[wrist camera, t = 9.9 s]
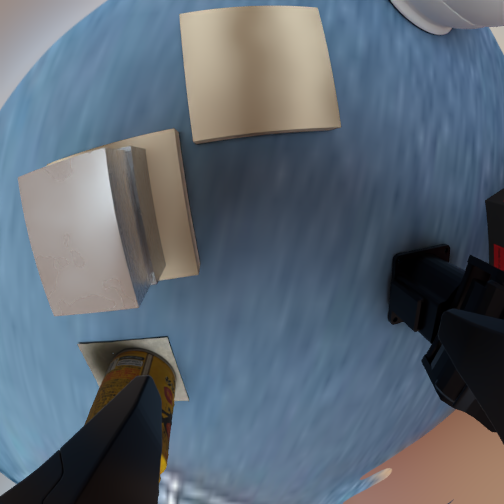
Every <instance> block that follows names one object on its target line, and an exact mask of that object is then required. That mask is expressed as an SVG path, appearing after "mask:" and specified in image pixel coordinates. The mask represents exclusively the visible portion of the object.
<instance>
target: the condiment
mask: <svg viewBox="0 0 504 504" xmlns="http://www.w3.org/2000/svg"><path fill="white" fill-rule="evenodd" d="M77 345H78V347H79V349H80V351H81V352H82V353H83V356H84V358H85V360H86V362H87V364H88V366H89V367H90V369H91V371H92V373H93V375H94V377H95V379H96V380H97V383H98V385H99V387H100V388H99V390H98V393H97V395H96V397H95V400H94V402H93V405H92V407H91V409H90V412H89V415H88V417H87V420H86V422H85V425H86V424H87V423H88V422H89V421H90V420H91V419H92V418H93V417H94V416H95V415H96V414H97V413H98V412H99V411H100V410H101V409H102V408H103V407H104V406H106V405H107V404H108V403H109V402H110V401H111V400H112V399H113V398H114V397H115V396H116V395H117V394H118V393H119V392H120V391H121V390H122V389H123V388H124V387H125V386H126V385H128V384H129V383H130V382H131V381H132V380H133V379H134V378H135V377H136V376H142V375H149V376H151V377H152V378H153V380H154V383H155V385H156V387H157V389H158V392H159V394H160V396H161V401H162V455H161V465H160V474H161V473H163V472H164V470H165V469H166V466H167V459H168V455H169V454H168V449H169V438H170V430H171V425H172V421H171V420H172V414H173V407H174V401H189V398H188V396H187V393H186V390H185V387H184V384H183V381H182V379H181V376H180V373H179V370H178V367H177V364H176V361H175V358H174V356H173V354H172V350H171V347H170V344H169V341H168V338H167V337H166V338H154V339H142V340H129V341H116V342H111V343H107V342H104V343H90V344H77ZM113 353H114V354H113ZM160 480H161V477H159V482H160ZM158 496H159V490H158Z"/></svg>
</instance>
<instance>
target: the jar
mask: <svg viewBox="0 0 504 504" xmlns="http://www.w3.org/2000/svg"><path fill="white" fill-rule="evenodd" d="M390 1H391V2H392V3H393V5H394V6H395V7H396V8H397V9H398V10H399V11H400V12H401V13H402V14H403V15H404V16H405V17H406V18H407V19H408V20H410V21H411V22H412V23H414V24H415V25H416V26H418V27H419V28H421V29H423V30H425V31H427V32H429V33H432V34H436V35H444V34H447V33H448V32H449V31H450V30H451V29H452V28H458V29H475V28H482V27H498V26H504V0H390Z"/></svg>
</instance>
